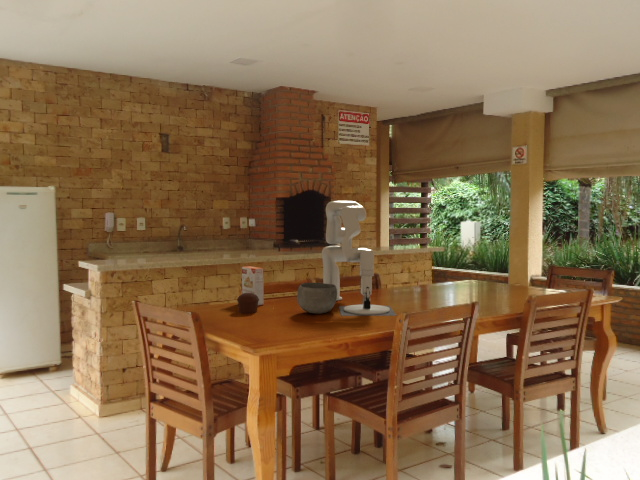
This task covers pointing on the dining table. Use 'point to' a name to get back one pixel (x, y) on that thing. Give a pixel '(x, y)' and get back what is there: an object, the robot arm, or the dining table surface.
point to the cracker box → (253, 282)
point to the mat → (366, 315)
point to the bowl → (317, 297)
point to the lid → (366, 309)
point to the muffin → (248, 303)
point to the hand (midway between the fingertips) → (366, 306)
